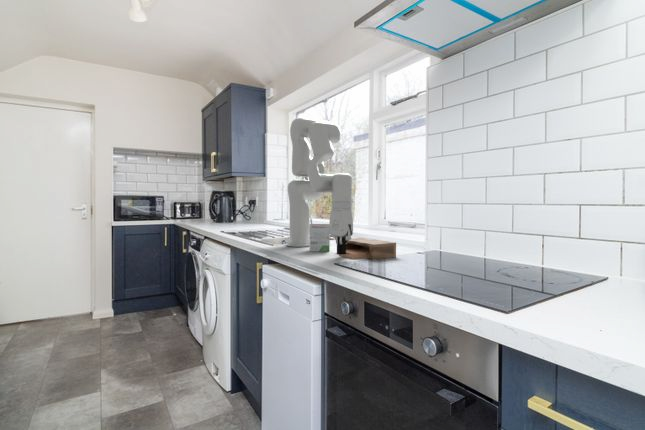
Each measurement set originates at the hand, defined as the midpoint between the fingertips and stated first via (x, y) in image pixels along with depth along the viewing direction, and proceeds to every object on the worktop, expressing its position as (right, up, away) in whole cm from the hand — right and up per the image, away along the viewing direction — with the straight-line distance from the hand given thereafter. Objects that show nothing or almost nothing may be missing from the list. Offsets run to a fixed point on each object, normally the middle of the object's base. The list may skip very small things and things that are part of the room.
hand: (341, 254), depth 133 cm
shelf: (+10, -1, +6) cm, 12 cm away
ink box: (-8, -1, +17) cm, 19 cm away
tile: (+8, -2, +4) cm, 9 cm away
